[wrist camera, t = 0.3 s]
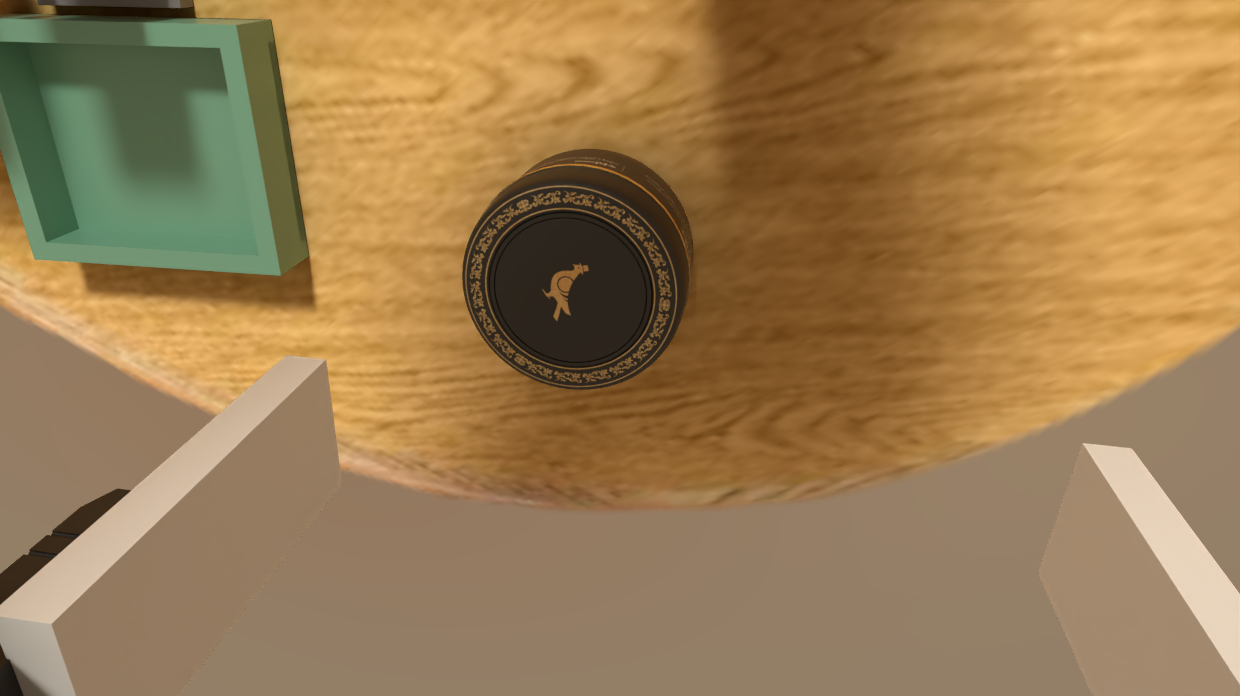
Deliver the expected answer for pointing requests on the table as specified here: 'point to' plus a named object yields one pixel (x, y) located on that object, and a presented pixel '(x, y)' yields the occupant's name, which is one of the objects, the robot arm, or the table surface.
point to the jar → (580, 270)
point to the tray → (150, 142)
